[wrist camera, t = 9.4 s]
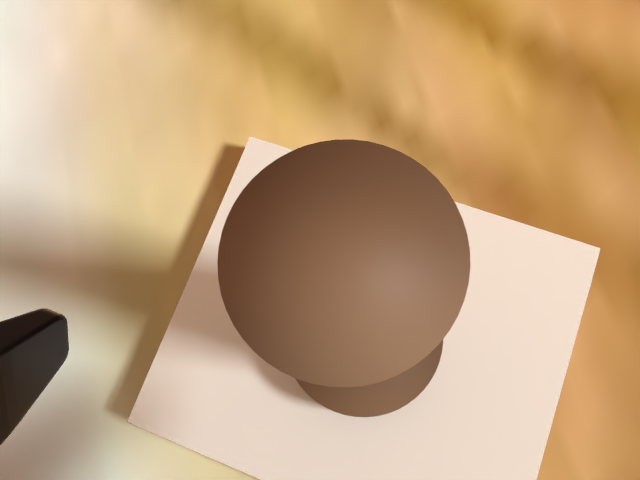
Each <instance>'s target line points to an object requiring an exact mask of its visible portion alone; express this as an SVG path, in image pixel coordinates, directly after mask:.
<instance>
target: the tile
mask: <svg viewBox="0 0 640 480" xmlns="http://www.w3.org/2000/svg"><path fill="white" fill-rule="evenodd" d="M291 151H293V150H291V149H288V148H285V147H282V146H279V145H275V144H272V143H269V142H266V141H263V140H260V139H257V138H254V137H250V138H249V140H248V142H247V145H246V147H245V149H244V152H243V154H242V156H241V158H240V161H239V163H238V165H237V168H236V170H235V172H234V175H233V177H232V179H231V182H230V184H229V186H228V189H227V191H226V193H225V196H224V198H223V200H222V203H221V205H220V207H219V210H218V212H217V214H216V216H215V219H214V221H213V223H212V226H211V228H210V230H209V233H208V235H207V237H206V240H205V242H204V244H203V247H202V249H201V251H200V254H199V256H198V258H197V261H196V263H195V265H194V267H193V270H192V272H191V274H190V277H189V279H188V281H187V284H186V286H185V288H184V291H183V293H182V295H181V298H180V300H179V302H178V305H177V307H176V309H175V312H174V314H173V316H172V319H171V321H170V323H169V325H168V328H167V330H166V332H165V335H164V337H163V339H162V342H161V344H160V346H159V349H158V351H157V353H156V356H155V358H154V360H153V363H152V365H151V367H150V370H149V372H148V374H147V377H146V379H145V381H144V383H143V386H142V388H141V390H140V393H139V395H138V397H137V400H136V402H135V404H134V407H133V409H132V411H131V414H130V416H129V418H128V421H127V422H128V423H131V424H133V425H135V426H138V427H140V428H142V429H145V430H147V431H149V432H152V433H154V434H156V435H158V436H161V437H163V438H165V439H168V440H170V441H172V442H175V443H177V444H179V445H182V446H184V447H186V448H189V449H191V450H193V451H196V452H198V453H200V454H202V455H205V456H207V457H209V458H212V459H214V460H216V461H219V462H221V463H223V464H226V465H228V466H230V467H233V468H235V469H237V470H239V471H242V472H244V473H246V474H249V475H251V476H253V477H256V478H258V479H260V480H536V479H537V475H538V472H539V468H540V465H541V461H542V457H543V454H544V450H545V447H546V443H547V439H548V436H549V432H550V429H551V425H552V421H553V418H554V414H555V411H556V407H557V403H558V400H559V396H560V393H561V389H562V385H563V382H564V378H565V375H566V371H567V367H568V364H569V360H570V357H571V353H572V349H573V346H574V342H575V339H576V335H577V331H578V328H579V324H580V321H581V317H582V313H583V310H584V306H585V303H586V299H587V295H588V292H589V288H590V285H591V281H592V277H593V274H594V270H595V267H596V263H597V259H598V256H599V252H600V249H601V248H598V247H595V246H592V245H588V244H585V243H582V242H579V241H576V240H573V239H570V238H567V237H563V236H560V235H557V234H554V233H551V232H548V231H545V230H541V229H538V228H535V227H532V226H529V225H526V224H523V223H520V222H516V221H513V220H510V219H507V218H504V217H501V216H498V215H495V214H491V213H488V212H485V211H482V210H479V209H476V208H473V207H469V206H466V205H463V204H460V203H457V202H455V204H456V206H457V208H458V210H459V212H460V214H461V216H462V219H463V222H464V225H465V228H466V232H467V236H468V241H469V247H470V276H469V284H468V288H467V292H466V296H465V300H464V302H463V305H462V307H461V310H460V312H459V315H458V317H457V319H456V320H455V322H454V324H453V326H452V327H451V329H450V331H449V332H448V333H447V335H446V336H445V337H444V338H443V348H442V354H441V358H440V362H439V365H438V367H437V370H436V372H435V374H434V376H433V377H432V379H431V381H430V383H429V384H428V385H427V386H426V388H425V389H424V390H423V391H422V392H421V393H420V394H419V395H418V396H417V397H416V398H415V399H414V400H412V401H411V402H410V403H409V404H407V405H405V406H404V407H402V408H400V409H398V410H396V411H393V412H391V413H388V414H384V415H380V416H375V417H353V416H347V415H343V414H340V413H337V412H334V411H332V410H330V409H328V408H325V407H324V406H322V405H321V404H319V403H318V402H316V401H315V400H314V399H312V398H311V397H310V396H309V395H308V394H307V393H306V392H305V391H304V390H303V389H302V388H301V387H300V385H299V384H298V382H297V381H296V379H295V378H294V377H291V376H289V375H287V374H285V373H283V372H281V371H279V370H278V369H276V368H275V367H273V366H271V365H270V364H268V363H267V362H266V361H264V360H263V359H262V358H261V357H260V356H259V355H257V354H256V353H255V352H254V351H253V350H252V349H251V348H250V347H249V345H248V344H247V343H246V342H245V341H244V340H243V339H242V337H241V336H240V334H239V333H238V331H237V330H236V328H235V327H234V325H233V323H232V321H231V319H230V317H229V315H228V313H227V311H226V308H225V305H224V302H223V299H222V296H221V292H220V286H219V281H218V267H217V260H218V248H219V243H220V238H221V233H222V230H223V227H224V224H225V221H226V218H227V216H228V214H229V212H230V210H231V208H232V206H233V204H234V202H235V201H236V199H237V198H238V196H239V195H240V193H241V192H242V190H243V189H244V188H245V187H246V186H247V184H248V183H249V182H250V181H251V180H252V179H253V178H254V177H255V176H256V175H257V174H258V173H259V172H260V171H261V170H263V169H264V168H265V167H266V166H268V165H269V164H271V163H272V162H273V161H275V160H276V159H278V158H280V157H281V156H283V155H285V154H287V153H289V152H291Z"/></svg>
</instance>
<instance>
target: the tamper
mask: <svg viewBox="0 0 640 480" xmlns="http://www.w3.org/2000/svg"><path fill="white" fill-rule="evenodd" d="M217 267H218V281H219V286H220V292H221V296H222V299H223V302H224V305H225V308H226V311H227V313H228V315H229V317H230V319H231V321H232V323H233V325H234V327H235V328H236V330H237V331H238V333H239V334H240V336H241V337H242V339H243V340H244V341H245V342H246V343H247V344H248V345H249V347H250V348H251V349H252V350H253V351H254V352H255V353H256V354H257V355H259V356H260V357H261V358H262V359H263V360H264V361H266V362H267V363H268V364H270V365H271V366H273V367H275V368H276V369H278V370H279V371H281V372H283V373H285V374H287V375H289V376H291V377H294V378H295V379H296V381H297V382H298V384H299V385H300V387H301V388H302V389H303V390H304V391H305V392H306V393H307V394H308V395H309V396H310V397H311V398H312V399H314V400H315V401H316V402H318V403H319V404H321V405H322V406H324V407H325V408H328V409H330V410H332V411H334V412H337V413H340V414H343V415H347V416H353V417H375V416H380V415H384V414H388V413H391V412H393V411H396V410H398V409H400V408H402V407H404V406H405V405H407V404H409V403H410V402H411V401H412V400H414V399H415V398H416V397H417V396H418V395H419V394H420V393H421V392H422V391H423V390H424V389H425V388H426V386H427V385H428V384H429V383H430V381H431V379H432V377H433V376H434V374H435V372H436V370H437V367H438V365H439V362H440V358H441V354H442V348H443V338H444V337H445V336H446V335H447V333H448V332H449V331H450V329H451V327H452V326H453V324H454V322H455V320H456V319H457V317H458V315H459V312H460V310H461V307H462V305H463V302H464V300H465V296H466V292H467V288H468V284H469V276H470V247H469V241H468V236H467V232H466V228H465V225H464V222H463V219H462V216H461V214H460V212H459V210H458V208H457V206H456V204H455V202H454V201H453V199H452V197H451V196H450V194H449V193H448V191H447V190H446V189H445V187H444V186H443V185H442V184H441V183H440V181H439V180H438V179H437V178H436V177H435V176H434V175H433V174H432V173H431V172H429V171H428V170H427V169H426V168H425V167H424V166H422V165H421V164H420V163H418V162H417V161H415V160H414V159H412V158H411V157H409V156H407V155H405V154H403V153H401V152H399V151H397V150H395V149H392V148H389V147H387V146H384V145H380V144H376V143H372V142H368V141H359V140H331V141H323V142H318V143H314V144H310V145H306V146H304V147H301V148H298V149H296V150H293V151H291V152H289V153H287V154H285V155H283V156H281V157H280V158H278V159H276V160H275V161H273V162H272V163H271V164H269V165H268V166H266V167H265V168H264V169H263V170H261V171H260V172H259V173H258V174H257V175H256V176H255V177H254V178H253V179H252V180H251V181H250V182H249V183H248V184H247V186H246V187H245V188H244V189H243V190H242V192H241V193H240V195H239V196H238V198H237V199H236V201H235V202H234V204H233V206H232V208H231V210H230V212H229V214H228V216H227V218H226V221H225V224H224V227H223V230H222V233H221V238H220V243H219V248H218V260H217Z"/></svg>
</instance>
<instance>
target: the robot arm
mask: <svg viewBox="0 0 640 480" xmlns="http://www.w3.org/2000/svg"><path fill="white" fill-rule="evenodd" d="M68 351H69V342H68V327H67V320H66V318H65V316H63V315H62V314H59V313H57V312H54V311H52V310H49V309H38V310H35V311H32V312H29V313H26V314H23V315H20V316H17V317H14V318H11V319H8V320H4V321H1V322H0V445H1V444H2V443H3V442H4V441H5V439H6V438H7V437H8V436H9V435H10V434H11V432H12V431H13V430H14V429H15V427H16V426H17V425H18V424H19V422H20V421H21V420H22V418H23V417H24V416H25V414H26V413H27V412H28V410H29V409H30V408H31V406H32V405H33V403H34V402H35V401H36V399H37V398H38V397H39V395H40V394H41V393H42V391H43V390H44V389H45V387H46V386H47V385H48V383H49V382H50V381H51V379H52V378H53V377H54V375H55V374H56V372H57V371H58V370H59V368H60V367H61V366H62V364H63V363H64V361H65V360H66V358H67V355H68Z"/></svg>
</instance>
